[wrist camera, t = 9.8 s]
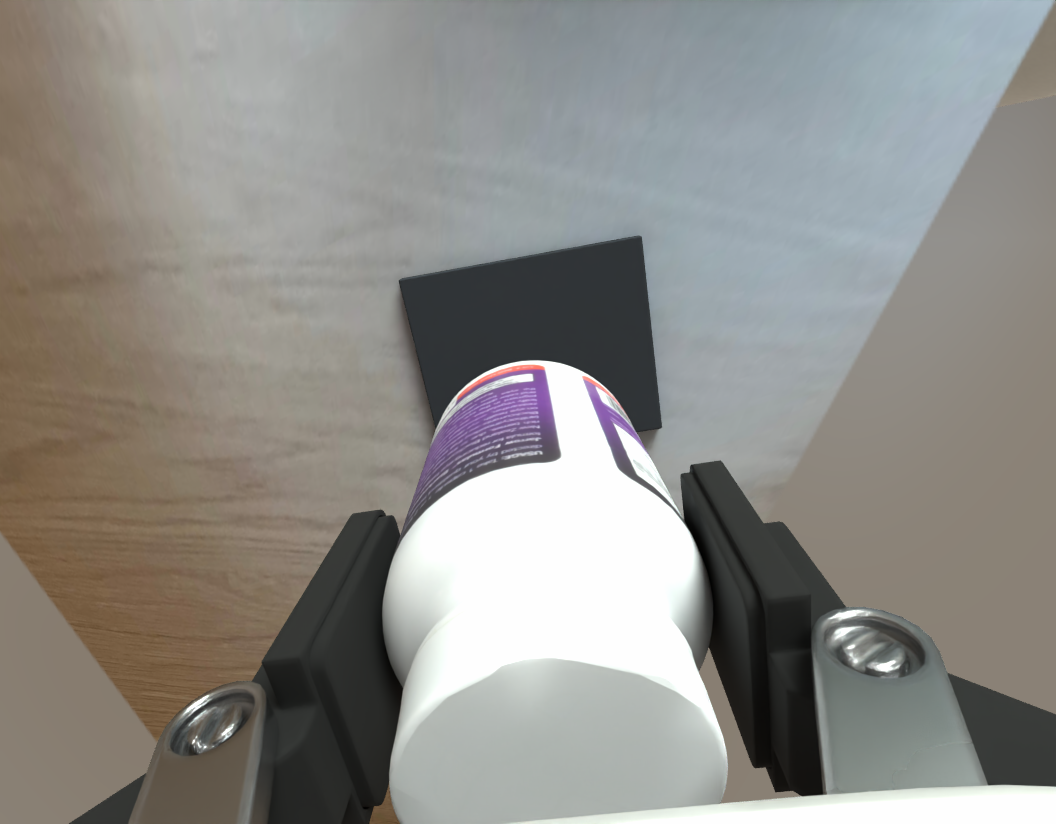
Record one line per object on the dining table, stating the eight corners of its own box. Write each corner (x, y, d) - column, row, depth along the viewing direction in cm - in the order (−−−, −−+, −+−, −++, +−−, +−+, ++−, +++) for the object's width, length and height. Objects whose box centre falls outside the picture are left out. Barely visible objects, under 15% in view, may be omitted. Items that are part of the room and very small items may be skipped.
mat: (639, 235, 28) (641, 236, 28) (660, 424, 31) (662, 428, 31) (400, 278, 29) (398, 280, 29) (445, 457, 32) (443, 462, 32)
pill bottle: (421, 519, 16) (301, 914, 7) (452, 337, 15) (348, 554, 6) (604, 552, 17) (709, 960, 8) (657, 378, 15) (870, 642, 6)
